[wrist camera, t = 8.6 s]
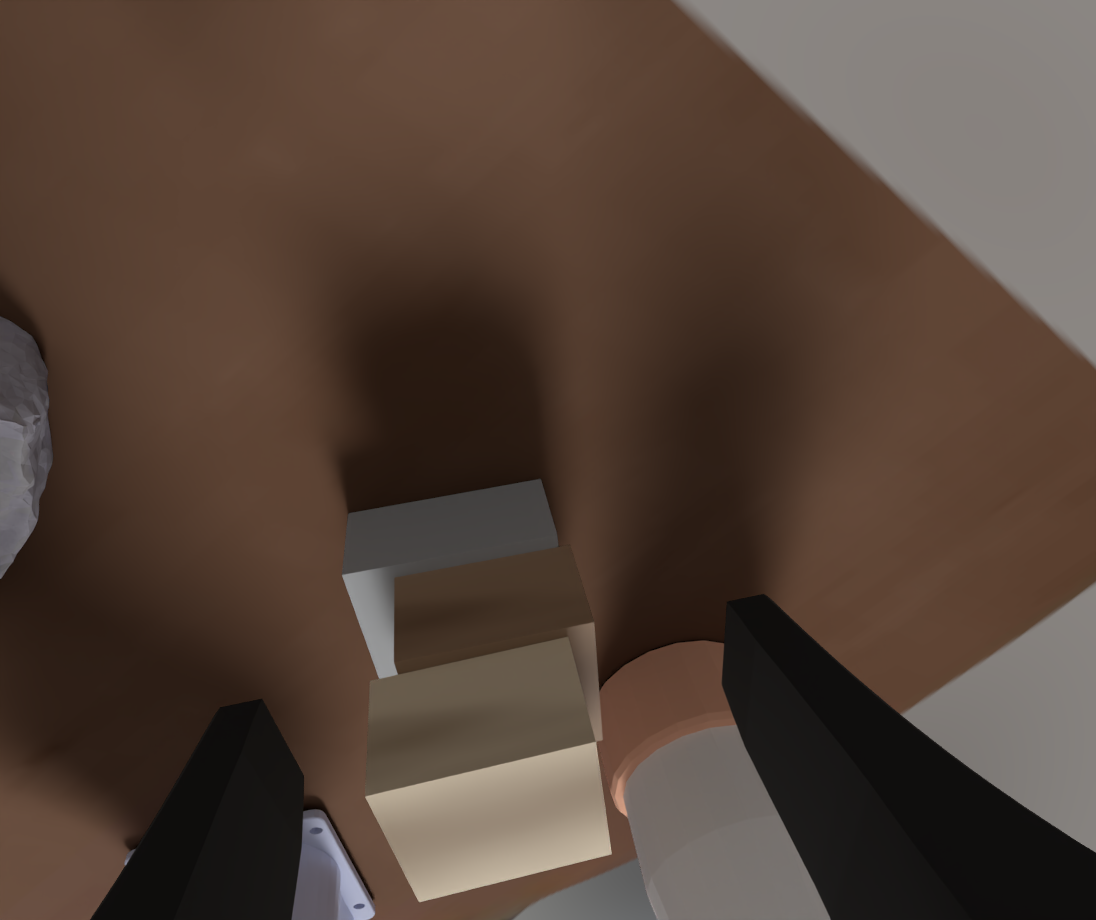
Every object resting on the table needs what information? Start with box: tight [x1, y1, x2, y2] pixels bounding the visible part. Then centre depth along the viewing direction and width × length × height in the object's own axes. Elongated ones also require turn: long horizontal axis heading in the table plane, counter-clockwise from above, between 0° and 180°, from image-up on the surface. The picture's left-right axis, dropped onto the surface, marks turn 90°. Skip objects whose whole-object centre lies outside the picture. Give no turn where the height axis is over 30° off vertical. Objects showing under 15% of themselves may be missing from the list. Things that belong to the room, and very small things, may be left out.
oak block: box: [365, 637, 612, 902], centre depth 17 cm, size 5×5×3 cm
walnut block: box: [394, 545, 603, 742], centre depth 20 cm, size 5×5×3 cm
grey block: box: [342, 479, 558, 679], centre depth 22 cm, size 6×6×3 cm
